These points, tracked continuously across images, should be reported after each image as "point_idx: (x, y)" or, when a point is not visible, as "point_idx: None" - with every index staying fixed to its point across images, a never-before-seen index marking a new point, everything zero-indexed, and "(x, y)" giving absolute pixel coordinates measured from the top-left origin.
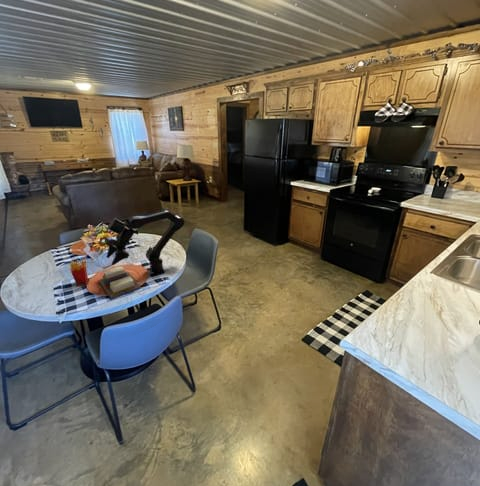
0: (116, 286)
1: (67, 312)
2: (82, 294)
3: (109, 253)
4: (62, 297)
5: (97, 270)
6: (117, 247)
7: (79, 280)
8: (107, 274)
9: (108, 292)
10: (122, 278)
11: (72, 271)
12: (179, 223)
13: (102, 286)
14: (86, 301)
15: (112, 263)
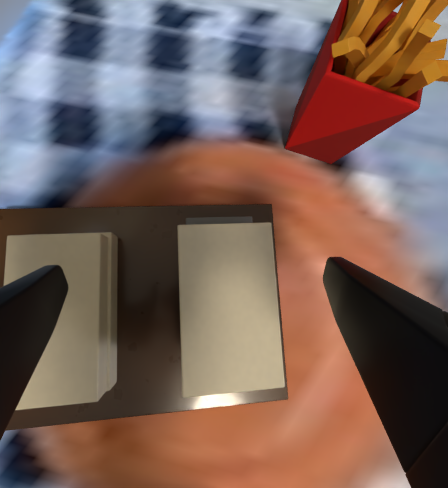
0: (8, 260)
1: (53, 16)
2: (184, 106)
3: (370, 321)
4: (220, 30)
5: (423, 235)
6: None
7: (302, 98)
8: (185, 236)
9: (71, 214)
10: (96, 335)
11: (342, 2)
12: None
13: (188, 207)
14: (93, 105)
15: (26, 280)
